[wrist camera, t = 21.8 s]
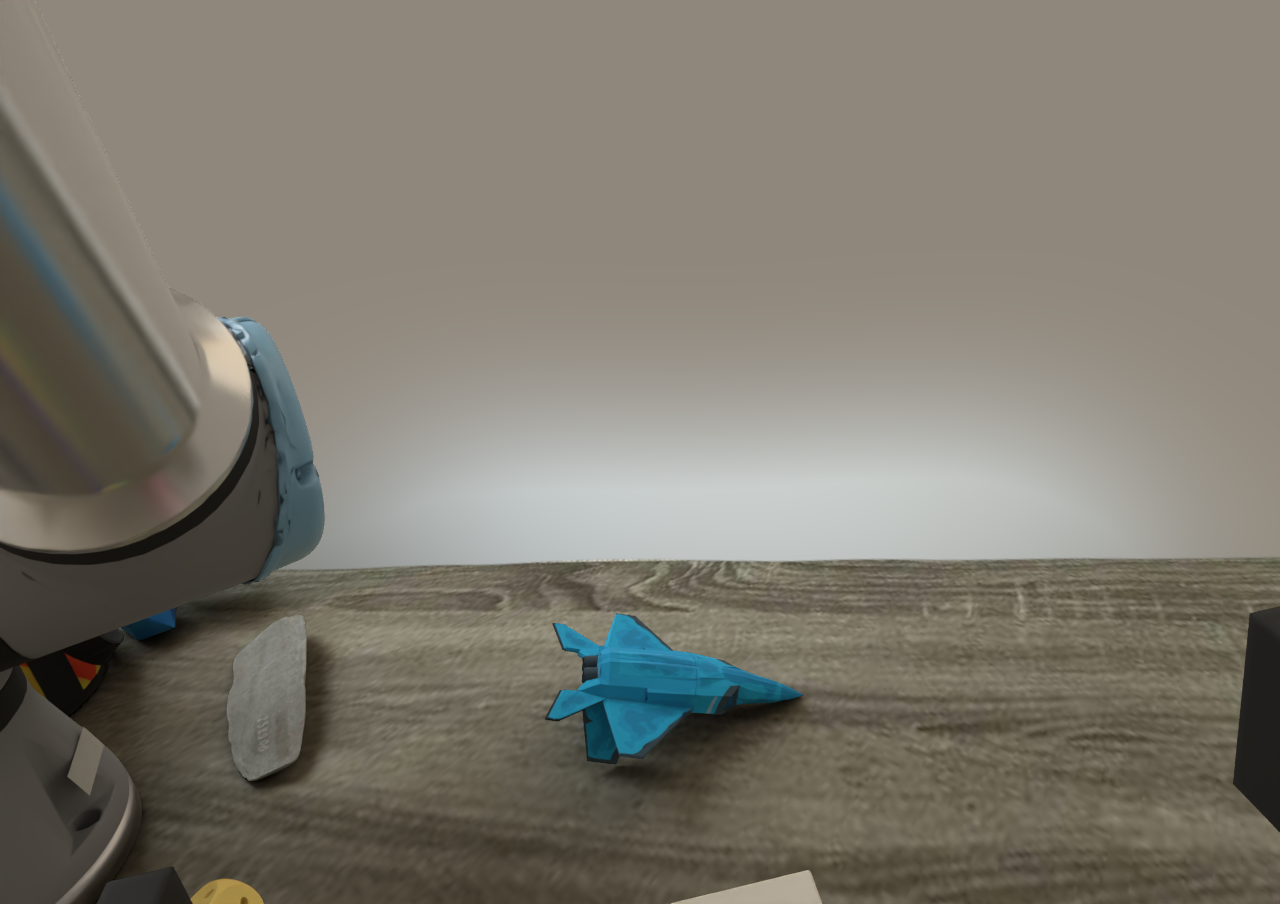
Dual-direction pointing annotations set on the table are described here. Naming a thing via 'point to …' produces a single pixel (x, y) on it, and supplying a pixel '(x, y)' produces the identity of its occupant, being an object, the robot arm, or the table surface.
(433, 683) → the table surface
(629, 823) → the table surface
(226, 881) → the dice
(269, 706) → the stone tool
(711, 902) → the block on pink pedestal
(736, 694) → the toy airplane
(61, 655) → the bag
